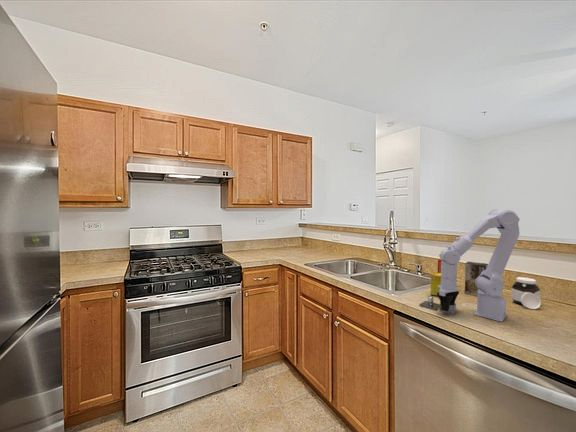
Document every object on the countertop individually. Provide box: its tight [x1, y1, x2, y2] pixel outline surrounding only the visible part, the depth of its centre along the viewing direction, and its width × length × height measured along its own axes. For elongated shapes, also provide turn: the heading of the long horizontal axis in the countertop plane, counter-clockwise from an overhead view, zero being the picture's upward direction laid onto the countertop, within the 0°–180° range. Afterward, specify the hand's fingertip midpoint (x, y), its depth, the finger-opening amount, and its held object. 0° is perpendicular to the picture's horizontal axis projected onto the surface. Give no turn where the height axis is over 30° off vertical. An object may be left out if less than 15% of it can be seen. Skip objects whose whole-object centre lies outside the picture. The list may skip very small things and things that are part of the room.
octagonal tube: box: [439, 301, 457, 316], centre depth 114 cm, size 5×5×4 cm
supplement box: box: [430, 271, 441, 298], centre depth 136 cm, size 6×6×11 cm
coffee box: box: [464, 261, 489, 297], centre depth 138 cm, size 9×6×16 cm
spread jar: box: [510, 276, 542, 310], centre depth 123 cm, size 12×11×12 cm
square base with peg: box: [418, 295, 440, 311], centre depth 121 cm, size 7×7×4 cm
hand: (447, 308), depth 114 cm, fingers closed on octagonal tube, 5 cm apart
